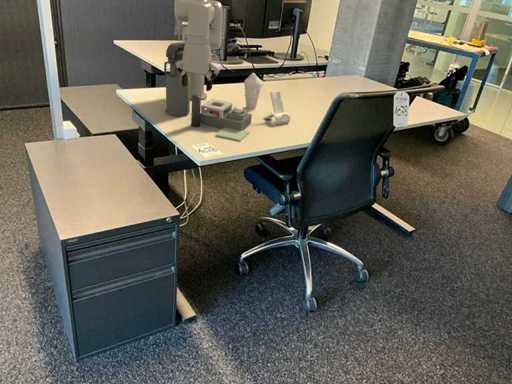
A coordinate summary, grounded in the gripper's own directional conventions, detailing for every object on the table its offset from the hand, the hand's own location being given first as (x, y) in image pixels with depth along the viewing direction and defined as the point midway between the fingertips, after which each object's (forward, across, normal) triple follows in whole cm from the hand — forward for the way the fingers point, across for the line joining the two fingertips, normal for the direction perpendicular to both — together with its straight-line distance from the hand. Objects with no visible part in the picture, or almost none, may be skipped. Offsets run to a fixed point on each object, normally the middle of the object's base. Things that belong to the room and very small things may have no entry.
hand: (196, 88), depth 158 cm
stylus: (+15, 0, +1) cm, 15 cm away
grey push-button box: (+15, +9, +10) cm, 20 cm away
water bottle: (+15, -13, +11) cm, 23 cm away
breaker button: (+13, +5, +10) cm, 17 cm away
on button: (+10, +14, +10) cm, 19 cm away
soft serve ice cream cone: (+15, +11, +37) cm, 41 cm away
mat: (+15, +16, 0) cm, 22 cm away
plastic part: (+15, +26, +25) cm, 39 cm away
